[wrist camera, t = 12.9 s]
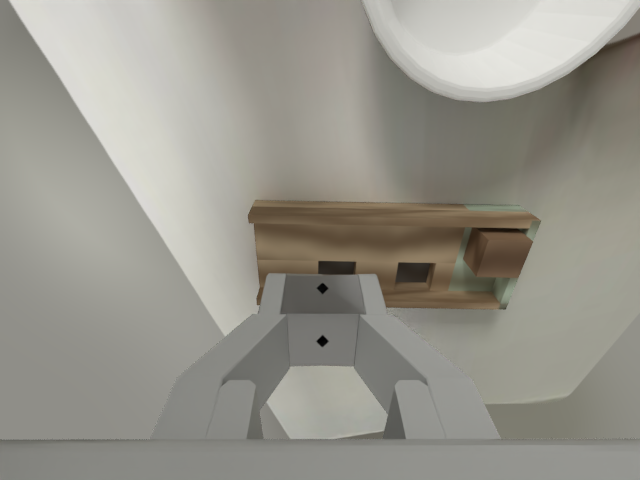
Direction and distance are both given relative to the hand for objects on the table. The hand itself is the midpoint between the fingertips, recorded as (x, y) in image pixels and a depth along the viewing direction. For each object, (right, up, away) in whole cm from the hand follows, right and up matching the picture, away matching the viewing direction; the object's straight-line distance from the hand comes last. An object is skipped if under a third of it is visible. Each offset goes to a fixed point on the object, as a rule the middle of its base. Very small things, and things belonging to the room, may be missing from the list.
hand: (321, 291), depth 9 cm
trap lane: (+8, 0, +33) cm, 34 cm away
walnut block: (+21, +1, +30) cm, 37 cm away
